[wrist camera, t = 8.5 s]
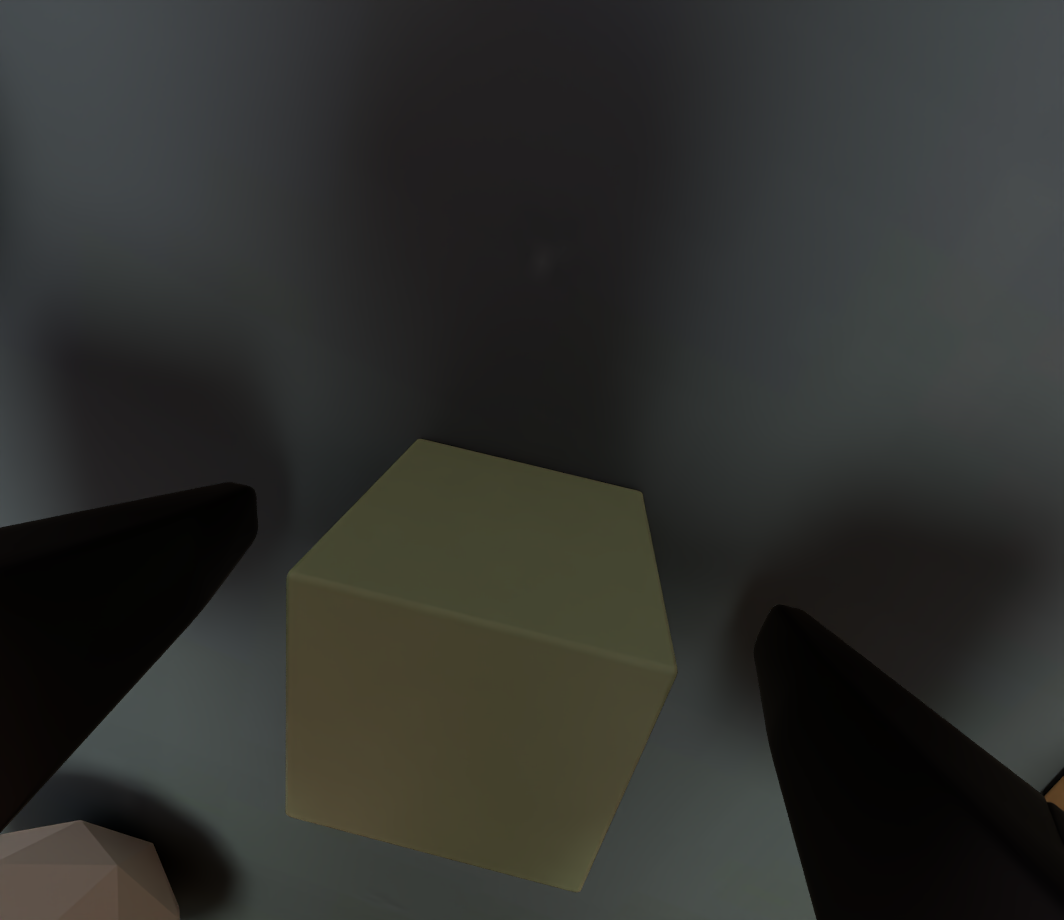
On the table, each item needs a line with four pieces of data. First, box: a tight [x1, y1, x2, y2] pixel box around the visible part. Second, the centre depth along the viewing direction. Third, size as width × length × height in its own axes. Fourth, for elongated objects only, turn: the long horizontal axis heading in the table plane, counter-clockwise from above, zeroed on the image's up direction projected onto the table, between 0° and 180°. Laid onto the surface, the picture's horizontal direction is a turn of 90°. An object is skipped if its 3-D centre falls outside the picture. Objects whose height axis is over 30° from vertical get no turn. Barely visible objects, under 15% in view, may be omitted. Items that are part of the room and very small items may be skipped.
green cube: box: [286, 439, 678, 892], centre depth 7 cm, size 4×4×4 cm
